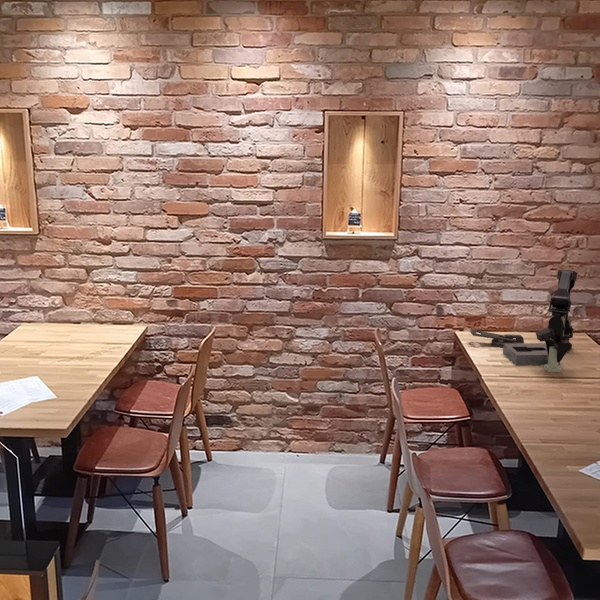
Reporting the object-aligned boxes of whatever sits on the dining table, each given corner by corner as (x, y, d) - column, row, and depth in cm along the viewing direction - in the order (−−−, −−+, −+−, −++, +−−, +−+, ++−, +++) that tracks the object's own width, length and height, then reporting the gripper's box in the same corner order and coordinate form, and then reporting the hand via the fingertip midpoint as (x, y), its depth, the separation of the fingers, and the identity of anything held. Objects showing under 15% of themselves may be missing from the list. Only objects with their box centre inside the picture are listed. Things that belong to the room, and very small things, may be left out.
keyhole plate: (544, 353, 332) (546, 343, 331) (559, 364, 317) (561, 354, 316) (502, 353, 331) (503, 343, 329) (515, 365, 315) (516, 355, 314)
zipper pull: (469, 328, 346) (522, 330, 344) (468, 341, 347) (521, 343, 346) (472, 333, 337) (526, 335, 336) (471, 347, 339) (525, 349, 337)
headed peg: (555, 367, 314) (558, 345, 311) (561, 372, 308) (563, 349, 306) (543, 367, 313) (546, 345, 311) (548, 372, 308) (551, 349, 305)
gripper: (530, 317, 314) (527, 351, 318) (548, 330, 296) (544, 366, 300) (555, 317, 315) (551, 351, 319) (574, 330, 297) (570, 366, 301)
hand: (553, 358), depth 309 cm, fingers open, 9 cm apart
